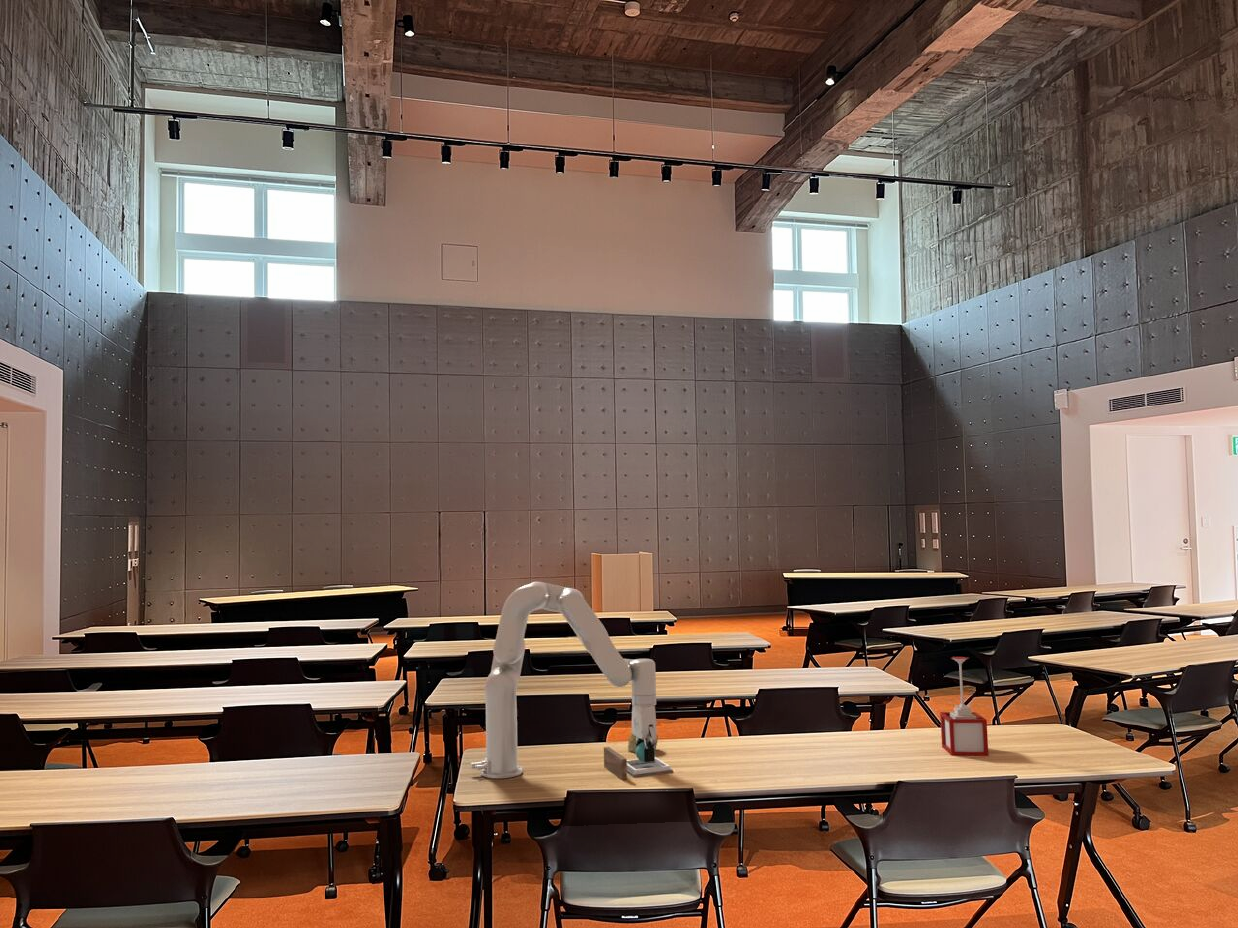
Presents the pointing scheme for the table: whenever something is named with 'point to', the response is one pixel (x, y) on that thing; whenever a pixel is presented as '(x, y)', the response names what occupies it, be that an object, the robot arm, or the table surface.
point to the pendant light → (963, 728)
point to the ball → (641, 751)
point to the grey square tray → (647, 767)
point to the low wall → (615, 763)
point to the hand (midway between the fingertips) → (645, 758)
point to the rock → (633, 743)
